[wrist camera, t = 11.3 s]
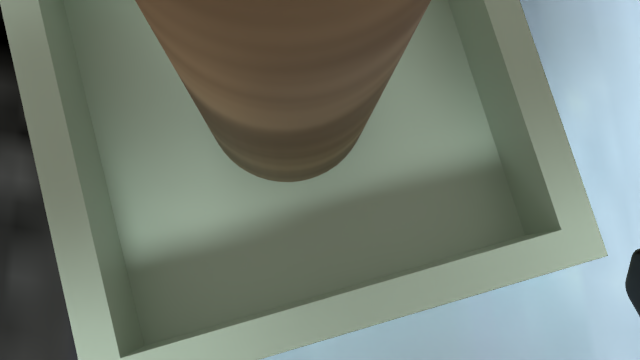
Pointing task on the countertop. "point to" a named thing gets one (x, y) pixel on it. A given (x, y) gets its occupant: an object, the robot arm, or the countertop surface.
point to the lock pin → (285, 73)
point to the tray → (289, 189)
